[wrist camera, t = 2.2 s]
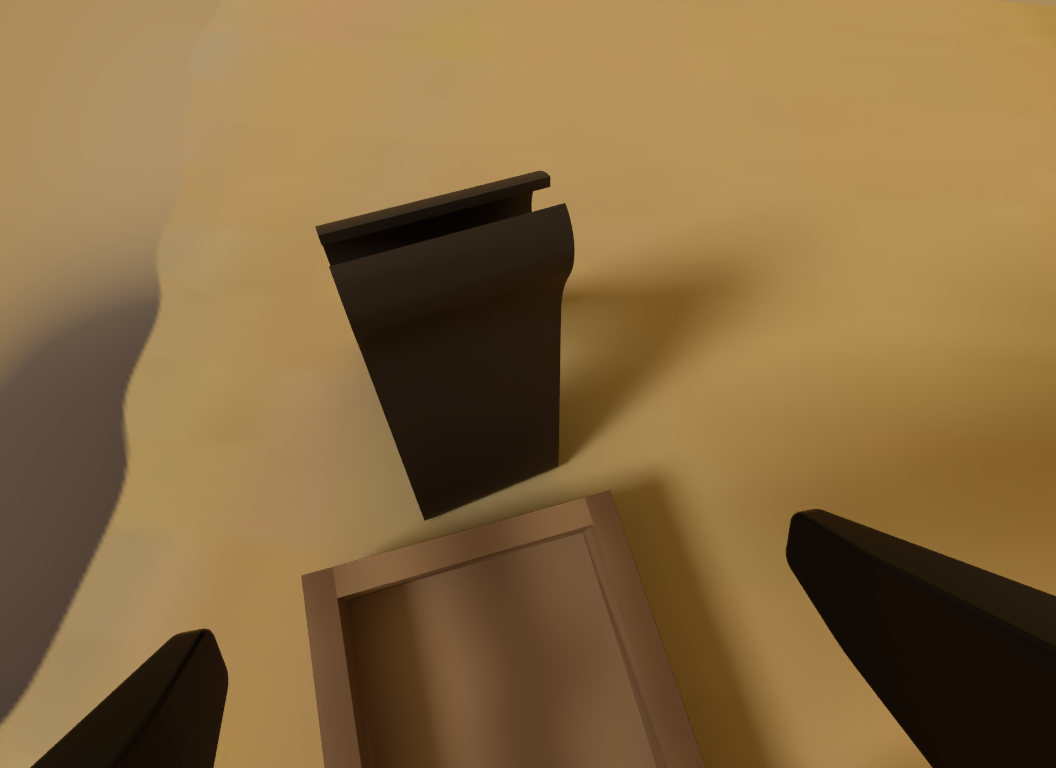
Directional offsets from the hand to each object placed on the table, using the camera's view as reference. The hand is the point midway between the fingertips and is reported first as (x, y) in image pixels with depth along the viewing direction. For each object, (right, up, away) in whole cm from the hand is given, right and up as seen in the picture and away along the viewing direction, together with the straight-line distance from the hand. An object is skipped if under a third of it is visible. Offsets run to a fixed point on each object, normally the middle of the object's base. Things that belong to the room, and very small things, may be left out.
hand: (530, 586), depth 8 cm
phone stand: (-3, +2, +16) cm, 16 cm away
